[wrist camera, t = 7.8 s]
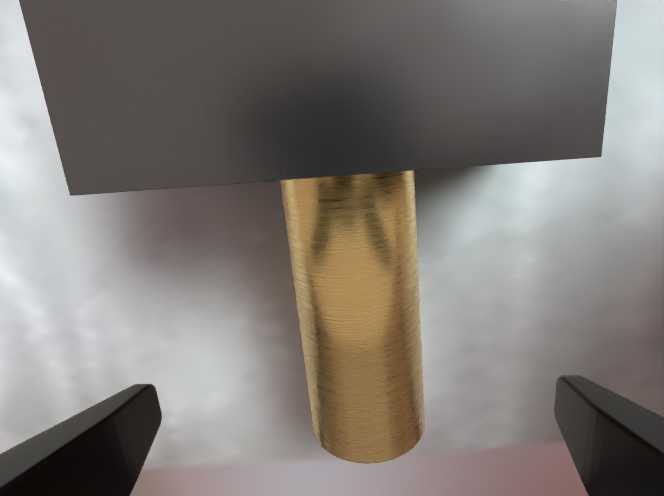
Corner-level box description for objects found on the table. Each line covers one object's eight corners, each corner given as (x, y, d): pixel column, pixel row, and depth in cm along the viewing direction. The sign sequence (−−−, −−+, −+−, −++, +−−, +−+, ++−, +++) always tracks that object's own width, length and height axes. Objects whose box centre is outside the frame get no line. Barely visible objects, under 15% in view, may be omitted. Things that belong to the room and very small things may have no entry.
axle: (370, -183, 9) (422, -342, 6) (402, 377, 12) (444, 448, 10) (229, -183, 8) (211, -354, 5) (307, 396, 12) (321, 475, 9)
